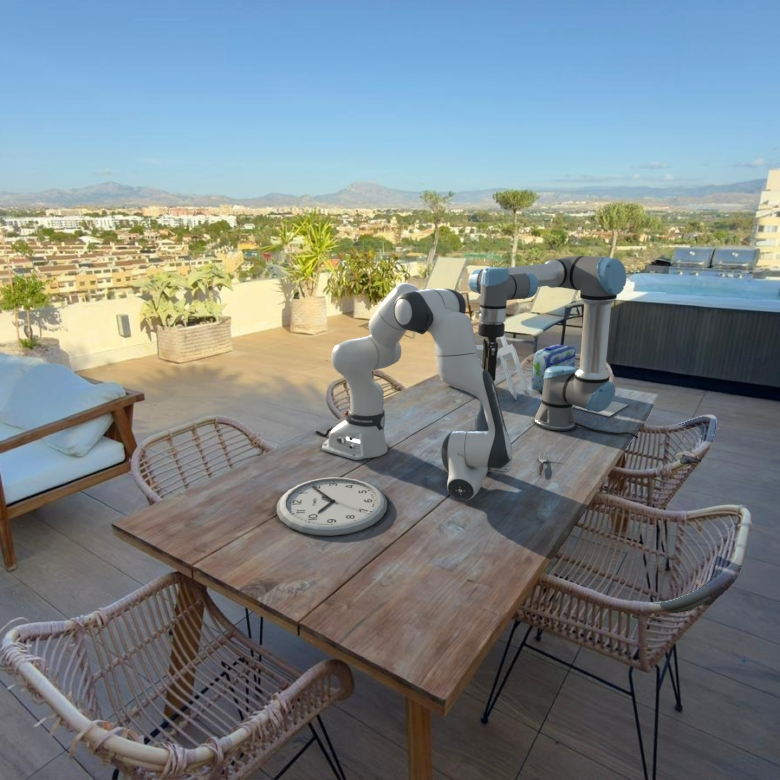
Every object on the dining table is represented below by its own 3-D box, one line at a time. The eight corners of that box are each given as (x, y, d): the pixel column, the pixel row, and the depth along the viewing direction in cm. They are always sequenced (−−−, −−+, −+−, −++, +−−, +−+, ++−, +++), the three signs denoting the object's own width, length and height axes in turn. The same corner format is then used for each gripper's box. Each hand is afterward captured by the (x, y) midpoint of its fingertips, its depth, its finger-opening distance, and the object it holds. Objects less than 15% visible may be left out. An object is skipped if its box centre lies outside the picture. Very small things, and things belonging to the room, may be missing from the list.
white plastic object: (461, 429, 252) (437, 405, 227) (444, 352, 274) (420, 323, 250) (535, 404, 240) (518, 377, 215) (510, 326, 262) (492, 293, 237)
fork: (535, 475, 162) (535, 469, 161) (539, 455, 176) (540, 450, 175) (543, 477, 161) (544, 471, 160) (547, 456, 175) (548, 451, 175)
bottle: (475, 474, 162) (480, 404, 156) (469, 466, 168) (473, 398, 161) (492, 472, 164) (497, 403, 157) (485, 465, 169) (490, 397, 162)
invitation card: (608, 416, 214) (573, 407, 224) (608, 416, 214) (573, 408, 224) (628, 404, 229) (594, 396, 238) (628, 405, 229) (594, 397, 238)
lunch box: (547, 397, 237) (552, 352, 231) (526, 391, 245) (531, 348, 238) (574, 386, 255) (580, 344, 249) (554, 381, 262) (559, 340, 256)
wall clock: (392, 527, 129) (268, 531, 127) (391, 533, 130) (269, 537, 127) (383, 473, 158) (282, 475, 155) (383, 478, 158) (282, 480, 156)
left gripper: (510, 462, 148) (516, 444, 160) (440, 450, 154) (451, 434, 167) (508, 482, 150) (515, 463, 162) (439, 470, 156) (450, 452, 169)
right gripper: (475, 316, 160) (471, 389, 167) (482, 327, 143) (477, 407, 151) (500, 317, 160) (495, 389, 167) (509, 328, 143) (503, 408, 150)
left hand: (482, 448), depth 164 cm, fingers closed on bottle, 5 cm apart
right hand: (486, 398), depth 159 cm, fingers closed on cap, 4 cm apart
